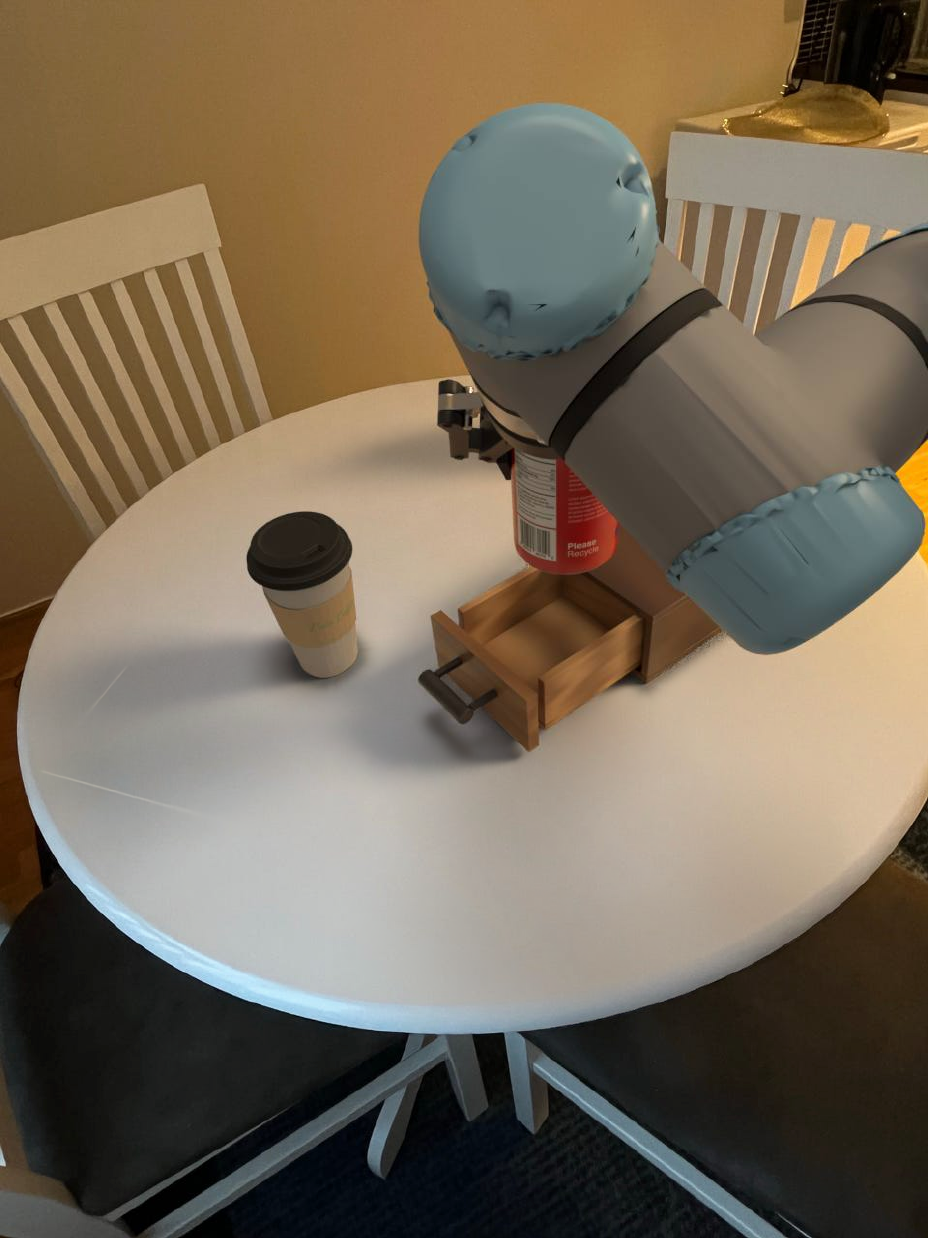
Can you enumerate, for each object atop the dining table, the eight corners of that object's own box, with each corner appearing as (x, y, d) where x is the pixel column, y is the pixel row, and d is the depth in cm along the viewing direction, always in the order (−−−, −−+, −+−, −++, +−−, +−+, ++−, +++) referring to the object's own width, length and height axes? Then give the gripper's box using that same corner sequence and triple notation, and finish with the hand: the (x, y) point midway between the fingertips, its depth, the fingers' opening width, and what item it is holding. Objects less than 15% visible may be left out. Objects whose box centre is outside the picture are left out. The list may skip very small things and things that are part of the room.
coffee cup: (351, 699, 79) (319, 581, 68) (264, 681, 81) (220, 564, 71) (389, 631, 85) (365, 513, 75) (307, 616, 88) (273, 499, 77)
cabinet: (646, 684, 77) (653, 617, 71) (542, 604, 86) (540, 539, 80) (763, 602, 84) (778, 534, 78) (655, 535, 92) (661, 470, 86)
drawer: (489, 780, 70) (484, 729, 65) (400, 689, 78) (390, 638, 73) (655, 664, 77) (661, 612, 73) (559, 593, 86) (558, 541, 81)
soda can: (508, 581, 62) (498, 399, 51) (520, 516, 67) (513, 340, 57) (616, 586, 60) (627, 400, 50) (618, 520, 66) (630, 340, 56)
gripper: (343, 444, 41) (431, 510, 64) (773, 445, 38) (705, 514, 61) (349, 294, 41) (434, 413, 64) (778, 282, 38) (708, 412, 61)
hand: (566, 462), depth 62 cm, fingers closed on soda can, 8 cm apart
